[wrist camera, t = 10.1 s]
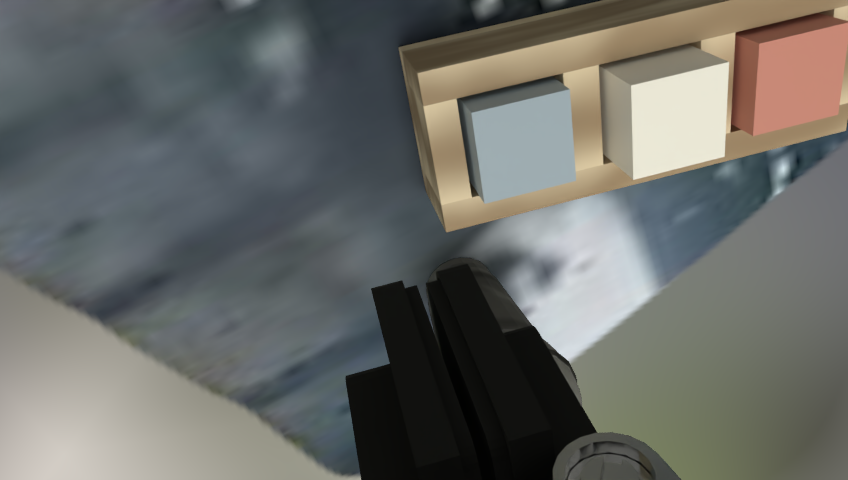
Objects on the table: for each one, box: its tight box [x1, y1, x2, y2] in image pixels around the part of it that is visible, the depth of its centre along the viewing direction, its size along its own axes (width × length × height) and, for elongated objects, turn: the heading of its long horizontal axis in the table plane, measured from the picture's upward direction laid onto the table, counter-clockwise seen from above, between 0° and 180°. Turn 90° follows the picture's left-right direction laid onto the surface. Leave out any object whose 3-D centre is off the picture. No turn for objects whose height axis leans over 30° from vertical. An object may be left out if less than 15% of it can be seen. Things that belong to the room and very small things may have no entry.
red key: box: [731, 13, 848, 136], centre depth 38 cm, size 5×5×4 cm
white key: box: [599, 44, 729, 180], centre depth 36 cm, size 5×5×4 cm
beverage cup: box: [426, 258, 582, 406], centre depth 38 cm, size 7×7×20 cm
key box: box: [399, 0, 848, 232], centre depth 40 cm, size 9×24×6 cm, turn 99°
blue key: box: [457, 76, 576, 204], centre depth 37 cm, size 5×5×4 cm
